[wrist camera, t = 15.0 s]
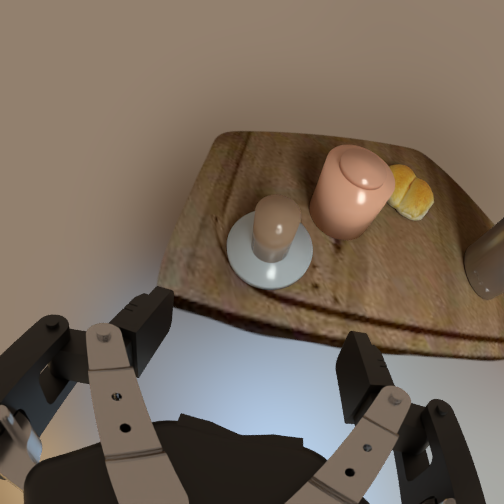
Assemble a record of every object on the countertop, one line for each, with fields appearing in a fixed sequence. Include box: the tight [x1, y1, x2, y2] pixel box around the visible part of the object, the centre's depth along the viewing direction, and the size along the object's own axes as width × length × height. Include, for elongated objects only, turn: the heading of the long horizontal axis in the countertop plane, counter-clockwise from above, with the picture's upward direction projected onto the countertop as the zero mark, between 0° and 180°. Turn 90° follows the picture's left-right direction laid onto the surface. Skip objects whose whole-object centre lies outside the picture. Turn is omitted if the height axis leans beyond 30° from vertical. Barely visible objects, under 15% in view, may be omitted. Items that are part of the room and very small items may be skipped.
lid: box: [227, 194, 313, 290], centre depth 28 cm, size 9×9×8 cm
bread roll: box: [387, 164, 434, 220], centre depth 35 cm, size 8×9×4 cm
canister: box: [309, 145, 395, 240], centre depth 30 cm, size 8×8×9 cm
